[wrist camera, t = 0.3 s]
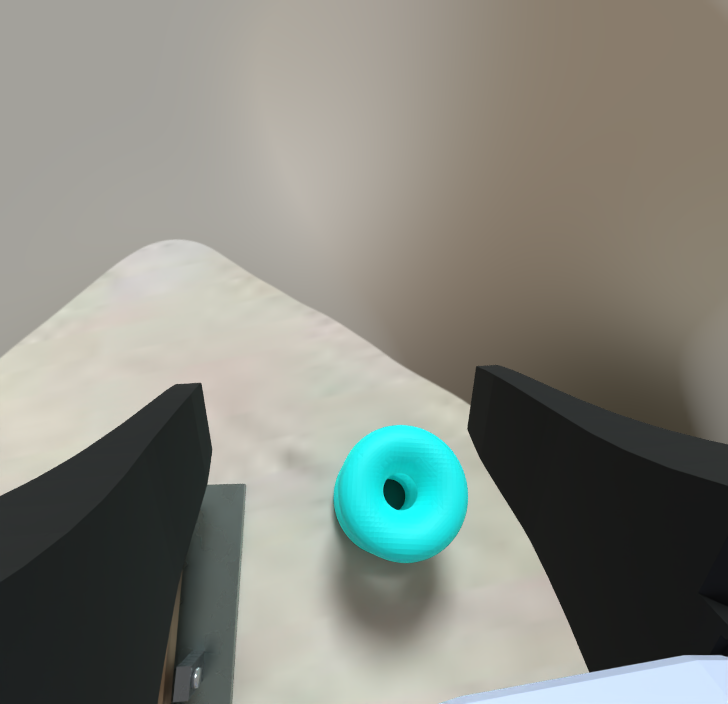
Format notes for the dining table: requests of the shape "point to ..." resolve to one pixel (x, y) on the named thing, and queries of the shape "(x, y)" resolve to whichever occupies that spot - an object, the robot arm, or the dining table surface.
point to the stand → (210, 600)
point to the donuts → (422, 494)
